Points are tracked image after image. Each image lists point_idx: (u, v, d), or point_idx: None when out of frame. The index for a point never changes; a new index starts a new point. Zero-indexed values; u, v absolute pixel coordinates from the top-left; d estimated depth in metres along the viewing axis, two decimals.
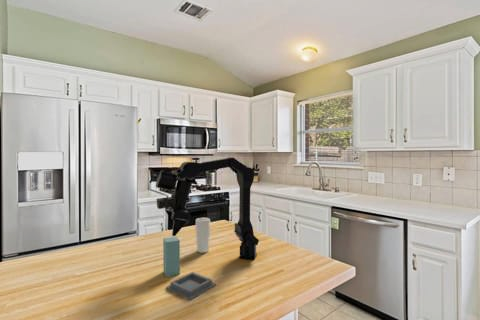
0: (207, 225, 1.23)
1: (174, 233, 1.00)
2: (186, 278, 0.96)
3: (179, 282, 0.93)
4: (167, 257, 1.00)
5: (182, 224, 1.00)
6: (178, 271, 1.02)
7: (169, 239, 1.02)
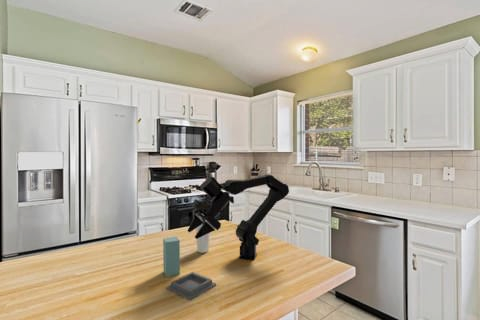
0: None
1: (197, 236, 1.02)
2: (186, 278, 0.96)
3: (179, 282, 0.93)
4: (167, 257, 1.00)
5: (208, 231, 1.03)
6: (178, 271, 1.02)
7: (169, 239, 1.02)
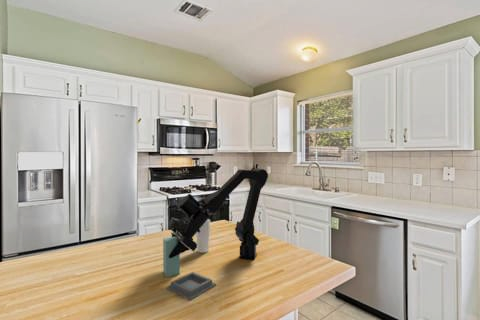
0: (207, 225, 1.23)
1: (171, 255, 1.00)
2: (186, 278, 0.96)
3: (179, 282, 0.93)
4: (167, 257, 1.00)
5: (182, 250, 1.01)
6: (178, 271, 1.02)
7: (169, 239, 1.02)
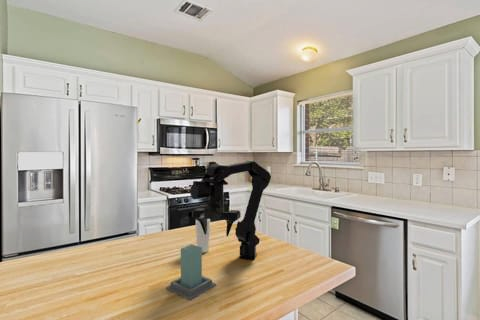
0: (207, 225, 1.23)
1: (228, 234, 1.06)
2: None
3: (179, 282, 0.93)
4: (191, 268, 0.89)
5: (232, 223, 1.08)
6: (200, 282, 0.92)
7: (190, 248, 0.91)
